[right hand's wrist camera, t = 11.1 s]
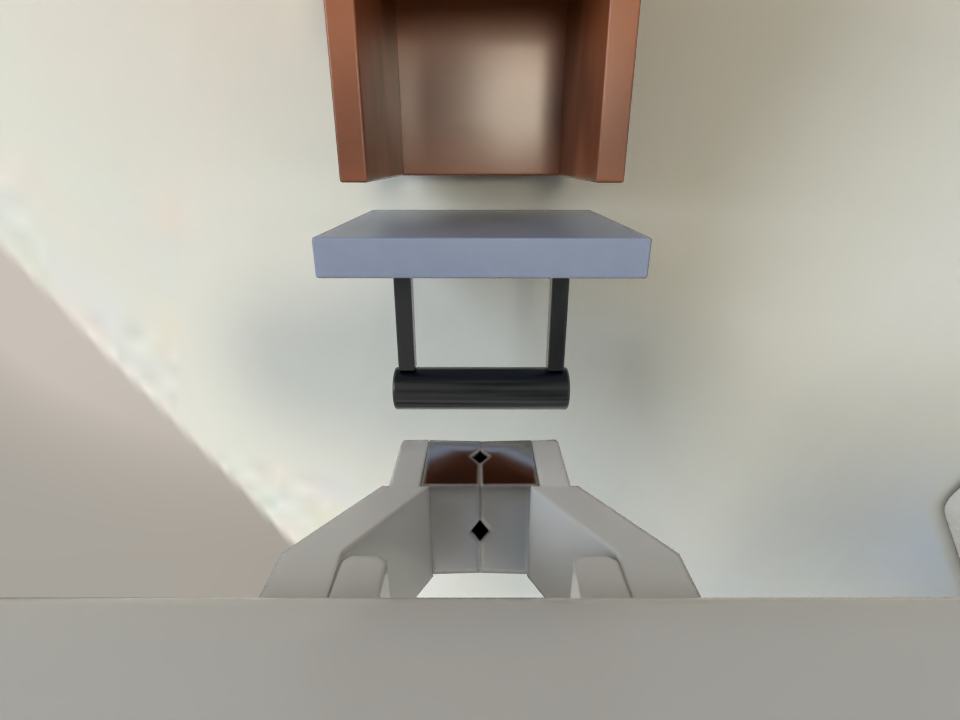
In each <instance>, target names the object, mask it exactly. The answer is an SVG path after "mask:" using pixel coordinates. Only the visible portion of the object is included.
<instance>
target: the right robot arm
mask: <svg viewBox="0 0 960 720" xmlns="http://www.w3.org/2000/svg"><path fill="white" fill-rule="evenodd" d="M944 513H945V517H946V520H947V523H948V526H949V529H950V532H951V534H952V537H953V540H954V543H955V546H956V549H957V552H958V555H959V558H960V488H959V489H958V490H957V491H956V492H955V493H954V494H953V495H952V496H951V497H950V498H949V499H948V501H947V502H946V504H945V508H944ZM446 573H514V574H527V576H528V578H529V579H530V580H531V581H532V582H533V584H534V585H535V586H536V587H537V589H538V590H539V591H540V592H541V594H542V595H543V596H544V597H545V598H416V596H417V595H418V594H419V593H420V592H421V590H422V589H423V588H424V587H425V585H426V584H427V583H428V582H429V581H430V579H431V578H432V577H433V574H446ZM0 720H960V598H701V596H700V594H699V592H698V590H697V588H696V586H695V584H694V582H693V580H692V579H691V577H690V575H689V573H688V571H687V569H686V567H685V565H684V563H683V561H682V559H681V557H680V555H679V554H678V553H677V552H675V551H674V550H672V549H671V548H669V547H668V546H666V545H665V544H663V543H662V542H660V541H659V540H657V539H656V538H654V537H653V536H651V535H650V534H648V533H647V532H645V531H644V530H642V529H641V528H640V527H638V526H637V525H635V524H634V523H632V522H631V521H629V520H628V519H626V518H625V517H623V516H622V515H620V514H619V513H617V512H616V511H614V510H613V509H611V508H610V507H608V506H607V505H605V504H604V503H602V502H601V501H599V500H598V499H596V498H595V497H593V496H592V495H590V494H589V493H587V492H586V491H584V490H583V489H581V488H580V487H578V486H571V485H570V482H569V478H568V475H567V471H566V468H565V464H564V461H563V457H562V454H561V450H560V447H559V443H558V441H556V440H538V441H531V440H527V441H486V442H480V441H435V440H430V441H428V440H404V441H403V442H402V443H401V446H400V450H399V453H398V457H397V461H396V464H395V468H394V471H393V475H392V478H391V482H390V485H389V486H382V487H380V488H379V489H377V490H376V491H374V492H373V493H371V494H370V495H368V496H367V497H365V498H364V499H362V500H361V501H359V502H358V503H356V504H355V505H353V506H352V507H350V508H349V509H347V510H346V511H344V512H343V513H341V514H340V515H338V516H337V517H335V518H334V519H332V520H331V521H329V522H328V523H326V524H325V525H323V526H322V527H320V528H319V529H317V530H316V531H314V532H313V533H311V534H310V535H308V536H307V537H305V538H304V539H302V540H301V541H299V542H298V543H296V544H295V545H293V546H292V547H290V548H289V549H287V550H286V551H284V552H283V553H282V554H281V555H280V557H279V559H278V561H277V563H276V565H275V567H274V569H273V571H272V573H271V575H270V577H269V579H268V581H267V583H266V585H265V587H264V589H263V591H262V592H261V594H260V596H259V598H0Z"/></svg>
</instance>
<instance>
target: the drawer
mask: <svg viewBox="0 0 960 720" xmlns="http://www.w3.org/2000/svg"><path fill="white" fill-rule="evenodd" d="M640 3H641V0H324V10H325V21H326V32H327V43H328V54H329V65H330V76H331V87H332V98H333V109H334V120H335V131H336V142H337V153H338V164H339V175H340V181H341V182H370V181H376V180H381V179H386V178H391V177H397V176H402V175H560V176H565V177H571V178H576V179H581V180H587V181H592V182H597V183H621V182H623V181H624V172H625V161H626V151H627V140H628V130H629V119H630V108H631V98H632V87H633V77H634V66H635V56H636V45H637V34H638V24H639V13H640ZM312 245H313V254H314V262H315V271H316V277H317V278H393V279H394V296H395V312H396V329H397V346H398V363H399V367H397V368H396V369H395V371H394V376H393V402H394V406H395V408H396V409H567V407H568V405H569V399H570V380H569V373H568V370H567V368H565V367H564V357H565V341H566V326H567V310H568V294H569V278H647V274H648V266H649V257H650V249H651V238H649V237H647V236H645V235H643V234H641V233H638V232H636V231H634V230H632V229H630V228H628V227H625V226H623V225H621V224H619V223H617V222H614V221H612V220H610V219H608V218H606V217H603V216H601V215H599V214H597V213H595V212H592V211H590V210H372V211H370V212H368V213H366V214H363V215H361V216H359V217H357V218H355V219H352V220H350V221H348V222H346V223H344V224H342V225H339V226H337V227H335V228H333V229H331V230H329V231H326V232H324V233H322V234H320V235H318V236H316V237H313V238H312ZM413 278H550V293H549V313H548V333H547V353H546V367H416V365H417V362H416V340H415V319H414V297H413Z"/></svg>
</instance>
